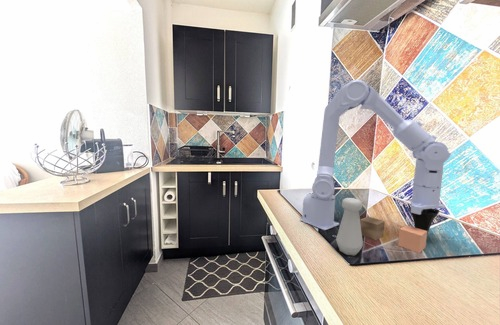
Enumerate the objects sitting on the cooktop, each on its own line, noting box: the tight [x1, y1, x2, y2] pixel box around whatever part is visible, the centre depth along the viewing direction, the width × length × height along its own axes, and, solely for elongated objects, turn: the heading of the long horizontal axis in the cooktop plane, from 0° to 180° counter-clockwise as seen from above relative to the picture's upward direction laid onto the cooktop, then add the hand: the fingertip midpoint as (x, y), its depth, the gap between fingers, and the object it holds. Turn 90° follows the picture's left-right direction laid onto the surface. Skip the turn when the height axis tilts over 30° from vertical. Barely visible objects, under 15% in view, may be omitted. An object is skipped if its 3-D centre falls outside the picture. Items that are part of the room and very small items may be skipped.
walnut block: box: [360, 216, 385, 241], centre depth 59 cm, size 4×4×4 cm
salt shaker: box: [335, 197, 364, 257], centre depth 50 cm, size 6×6×13 cm
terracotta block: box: [397, 224, 428, 254], centre depth 53 cm, size 4×4×4 cm
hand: (421, 234), depth 58 cm, fingers closed
